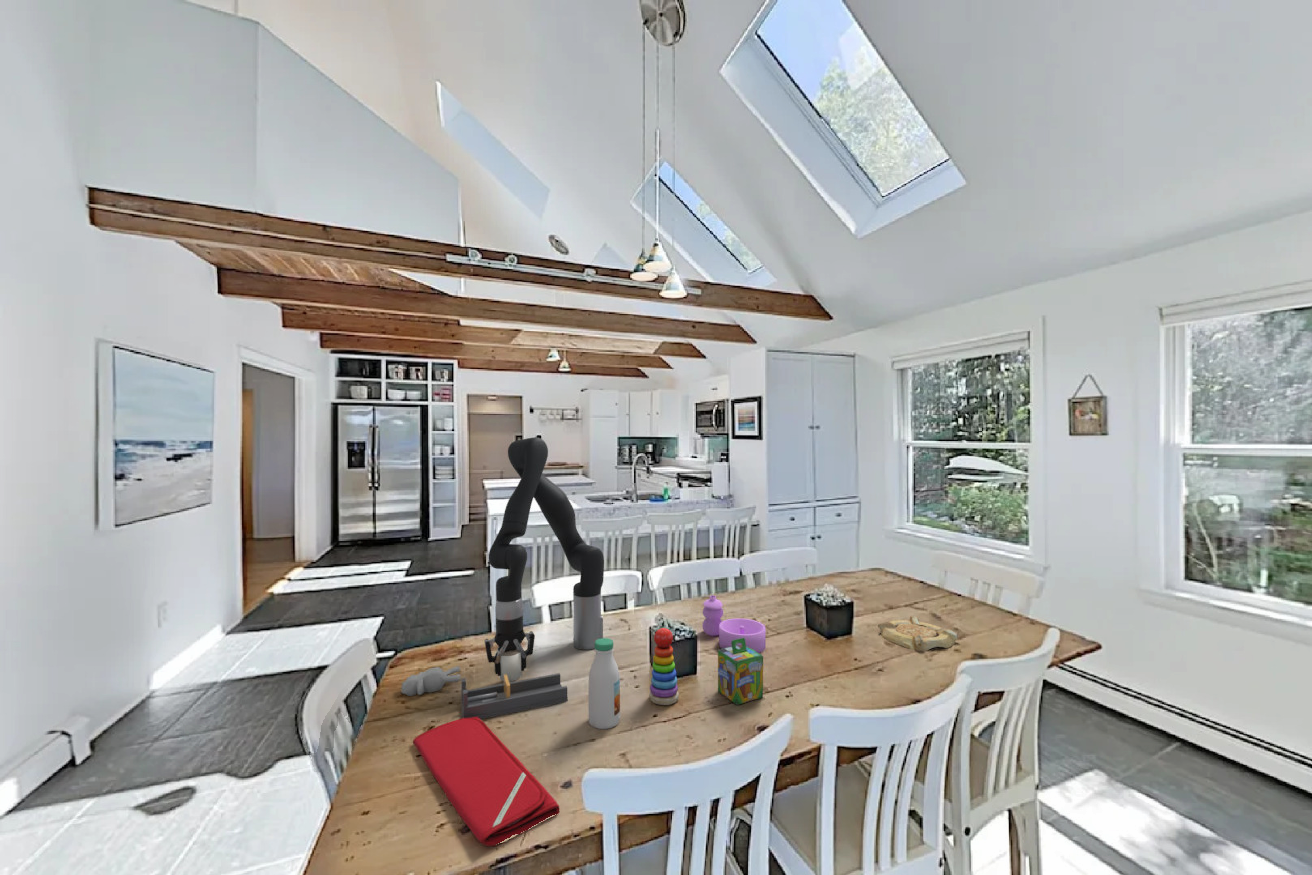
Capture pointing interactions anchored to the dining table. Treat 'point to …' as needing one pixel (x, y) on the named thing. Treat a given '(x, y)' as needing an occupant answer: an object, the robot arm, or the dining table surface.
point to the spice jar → (511, 665)
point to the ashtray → (917, 634)
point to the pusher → (494, 695)
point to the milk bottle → (604, 687)
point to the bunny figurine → (429, 681)
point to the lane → (514, 696)
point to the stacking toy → (663, 670)
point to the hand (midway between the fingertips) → (510, 672)
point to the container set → (732, 627)
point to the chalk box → (740, 673)
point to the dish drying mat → (484, 780)
